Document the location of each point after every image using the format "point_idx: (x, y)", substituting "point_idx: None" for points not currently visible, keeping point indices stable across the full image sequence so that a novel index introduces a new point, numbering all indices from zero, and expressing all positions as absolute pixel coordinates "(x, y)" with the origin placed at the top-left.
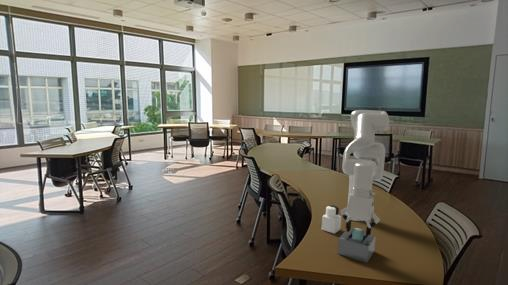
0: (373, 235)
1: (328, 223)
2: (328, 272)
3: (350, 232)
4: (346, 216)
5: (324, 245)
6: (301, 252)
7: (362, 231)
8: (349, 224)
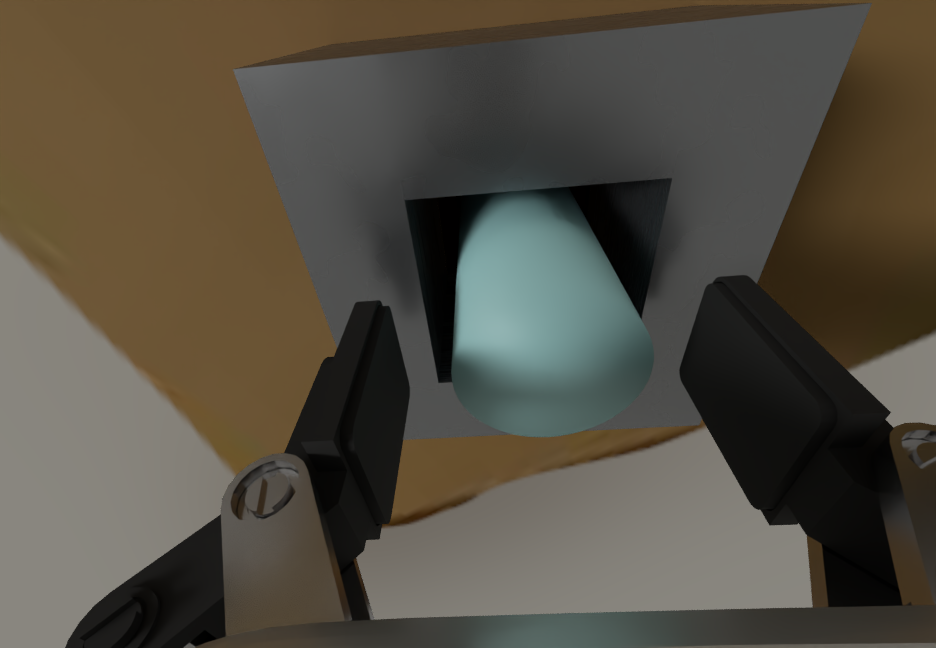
0: (817, 15)
1: None
2: (466, 491)
3: (381, 220)
4: (194, 613)
5: (231, 273)
6: (234, 439)
7: (633, 371)
8: (388, 481)
